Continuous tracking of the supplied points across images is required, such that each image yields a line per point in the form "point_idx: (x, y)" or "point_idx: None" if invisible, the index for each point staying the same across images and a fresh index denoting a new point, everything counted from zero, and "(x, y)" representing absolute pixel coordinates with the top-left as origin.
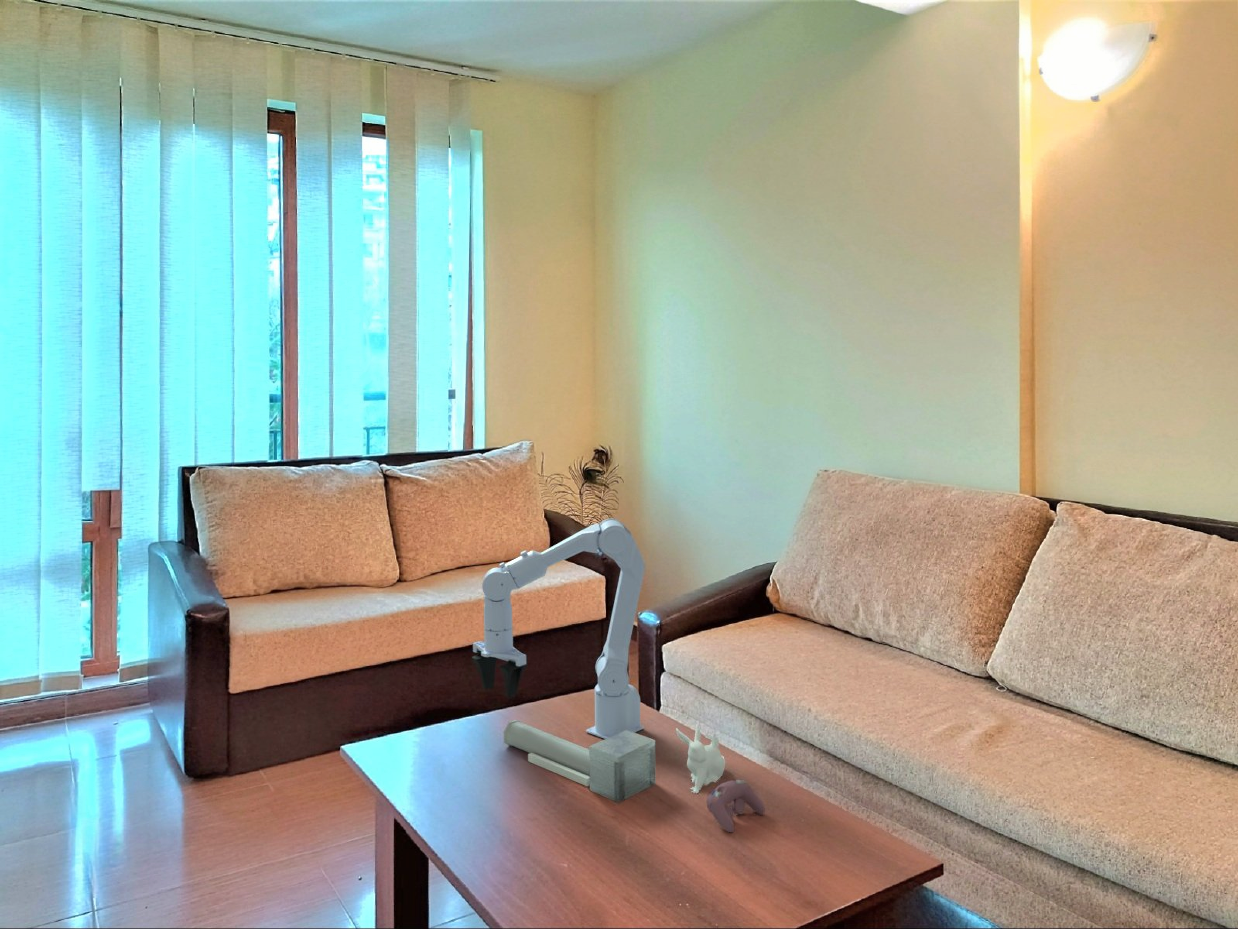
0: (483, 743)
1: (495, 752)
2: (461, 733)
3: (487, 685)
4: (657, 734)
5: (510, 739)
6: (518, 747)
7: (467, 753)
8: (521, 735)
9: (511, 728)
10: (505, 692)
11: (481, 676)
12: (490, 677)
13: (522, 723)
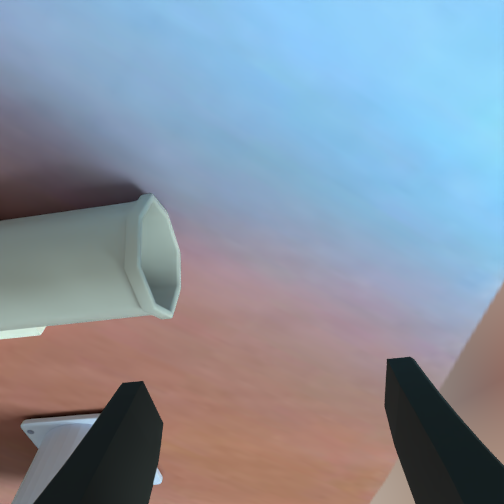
0: (254, 139)
1: (129, 130)
2: (434, 116)
3: (396, 399)
4: None
5: (106, 215)
6: (63, 212)
7: (193, 3)
8: (29, 250)
9: (106, 252)
10: (124, 412)
11: (466, 458)
12: (418, 478)
13: (104, 308)
